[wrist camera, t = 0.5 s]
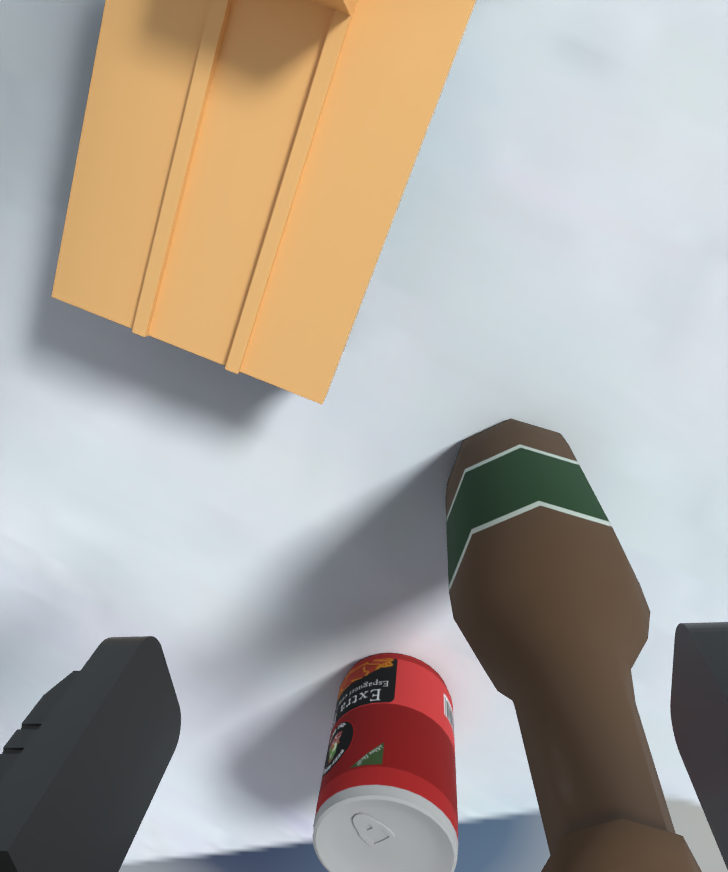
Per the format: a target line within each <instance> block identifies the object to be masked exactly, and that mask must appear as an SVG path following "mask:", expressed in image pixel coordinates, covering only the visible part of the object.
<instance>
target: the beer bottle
mask: <svg viewBox="0 0 728 872" xmlns="http://www.w3.org/2000/svg"><path fill="white" fill-rule="evenodd" d="M446 524H447V551H448V577H449V594H450V600H451V606H452V612H453V618H454V620H455V622H456V623H457V625H458V627H459V628H460V630H461V632H462V633H463V635H464V637H465V638H466V640H467V642H468V643H469V645H470V647H471V648H472V650H473V652H474V653H475V655H476V657H477V658H478V660H479V662H480V663H481V665H482V667H483V668H484V670H485V672H486V673H487V675H488V676H489V678H490V680H491V681H492V683H493V684H494V686H495V687H496V689H497V691H499V692H500V693H502V694H503V695H505V696H506V697H508V698H509V699H511V700H512V701H513V703H514V706H515V709H516V714H517V718H518V722H519V726H520V730H521V734H522V739H523V743H524V747H525V751H526V755H527V759H528V764H529V768H530V772H531V776H532V780H533V784H534V789H535V793H536V797H537V801H538V805H539V809H540V814H541V817H542V822H543V826H544V830H545V834H546V838H547V843H548V847H549V851H550V855H551V856H550V858H549V859H548V861H547V863H546V865H545V866H544V868H543V869H542V871H541V872H702V871H701V870H700V868H699V866H698V864H697V862H696V860H695V858H694V856H693V854H692V853H691V851H690V849H689V847H688V845H687V843H686V842H685V840H684V838H683V836H681V835H678V834H675V830H674V827H673V824H672V821H671V818H670V814H669V811H668V808H667V805H666V801H665V798H664V794H663V791H662V788H661V785H660V781H659V778H658V775H657V772H656V768H655V765H654V762H653V759H652V755H651V752H650V749H649V746H648V742H647V739H646V736H645V733H644V729H643V726H642V723H641V720H640V716H639V713H638V710H637V707H636V703H635V696H634V689H633V682H632V675H631V668H632V666H633V664H634V663H635V661H636V659H637V657H638V655H639V654H640V652H641V650H642V648H643V646H644V645H645V643H646V641H647V639H648V630H649V619H650V610H649V607H648V605H647V602H646V599H645V597H644V594H643V592H642V589H641V586H640V584H639V582H638V580H637V578H636V576H635V573H634V571H633V569H632V567H631V565H630V563H629V561H628V559H627V557H626V555H625V553H624V551H623V549H622V547H621V545H620V542H619V540H618V538H617V536H616V534H615V532H614V530H613V528H612V526H611V524H610V522H609V520H608V518H607V517H606V515H605V513H604V511H603V509H602V507H601V505H600V503H599V501H598V500H597V498H596V496H595V494H594V492H593V490H592V488H591V486H590V484H589V483H588V481H587V479H586V477H585V475H584V473H583V471H582V469H581V467H580V466H579V464H578V462H577V460H576V458H575V456H574V454H573V452H572V450H571V449H570V447H569V445H568V443H567V442H566V440H565V439H564V438H563V436H562V435H561V434H560V433H557V432H554V431H550V430H547V429H544V428H540V427H537V426H534V425H530V424H527V423H524V422H520V421H517V420H514V419H508V420H506V421H504V422H502V423H500V424H498V425H496V426H493V427H491V428H489V429H487V430H485V431H483V432H481V433H478V434H476V435H474V436H472V437H470V438H468V439H466V440H463V442H462V445H461V447H460V450H459V453H458V456H457V458H456V461H455V464H454V466H453V469H452V472H451V475H450V477H449V480H448V483H447V488H446Z"/></svg>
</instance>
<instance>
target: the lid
mask: <svg viewBox="0 0 728 872" xmlns="http://www.w3.org/2000/svg"><path fill="white" fill-rule="evenodd" d="M476 1H477V0H106V1H105V6H104V12H103V17H102V23H101V28H100V34H99V39H98V45H97V50H96V56H95V61H94V67H93V72H92V78H91V83H90V88H89V94H88V99H87V105H86V110H85V116H84V121H83V127H82V132H81V138H80V143H79V149H78V154H77V160H76V165H75V170H74V176H73V181H72V187H71V192H70V198H69V203H68V209H67V214H66V220H65V225H64V231H63V236H62V242H61V247H60V252H59V258H58V263H57V269H56V274H55V280H54V285H53V291H52V296H51V297H53V298H56V299H58V300H61V301H63V302H66V303H68V304H71V305H73V306H76V307H78V308H81V309H83V310H86V311H89V312H91V313H94V314H96V315H99V316H101V317H104V318H106V319H109V320H111V321H114V322H116V323H119V324H121V325H124V326H126V327H129V328H131V329H133V330H132V332H133V333H135V334H138V335H140V336H143V337H146V336H148V335H149V336H151V337H154V338H156V339H159V340H161V341H164V342H166V343H169V344H171V345H174V346H177V347H179V348H182V349H184V350H187V351H189V352H192V353H194V354H197V355H199V356H202V357H204V358H207V359H209V360H212V361H214V362H217V363H219V364H222V365H224V366H226V367H225V369H226V370H228V371H231V372H233V373H236V374H238V373H239V372H242V373H244V374H247V375H249V376H252V377H254V378H257V379H259V380H262V381H264V382H267V383H270V384H272V385H275V386H277V387H280V388H282V389H285V390H287V391H290V392H292V393H295V394H297V395H300V396H302V397H305V398H307V399H310V400H312V401H315V402H317V403H320V404H323V402H324V400H325V398H326V396H327V393H328V391H329V388H330V385H331V383H332V380H333V377H334V375H335V372H336V370H337V367H338V364H339V362H340V359H341V356H342V354H343V351H344V348H345V346H346V343H347V341H348V338H349V335H350V333H351V330H352V327H353V325H354V322H355V319H356V317H357V314H358V312H359V309H360V306H361V304H362V301H363V298H364V296H365V293H366V291H367V288H368V285H369V283H370V280H371V277H372V275H373V272H374V269H375V267H376V264H377V262H378V259H379V256H380V254H381V251H382V248H383V246H384V243H385V240H386V238H387V235H388V233H389V230H390V227H391V225H392V222H393V219H394V217H395V214H396V211H397V209H398V206H399V204H400V201H401V198H402V196H403V193H404V190H405V188H406V185H407V183H408V180H409V177H410V175H411V172H412V169H413V167H414V164H415V161H416V159H417V156H418V154H419V151H420V148H421V146H422V143H423V140H424V138H425V135H426V132H427V130H428V127H429V125H430V122H431V119H432V117H433V114H434V111H435V109H436V106H437V103H438V101H439V98H440V96H441V93H442V90H443V88H444V85H445V82H446V80H447V77H448V74H449V72H450V69H451V67H452V64H453V61H454V59H455V56H456V53H457V51H458V48H459V46H460V43H461V40H462V38H463V35H464V32H465V30H466V27H467V24H468V22H469V19H470V17H471V14H472V11H473V9H474V6H475V3H476Z"/></svg>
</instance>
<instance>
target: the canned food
mask: <svg viewBox="0 0 728 872" xmlns="http://www.w3.org/2000/svg"><path fill="white" fill-rule="evenodd" d="M313 826H314V832H313V845H314V848H315V851H316V854H317V856H318V858H319V860H320V861H321V863H322V865H324V867H325V868H326V869H327V870H328V871H329V872H454V869H455V866H456V863H457V853H458V814H457V791H456V768H455V745H454V721H453V705H452V700H451V696H450V694H449V692H448V690H447V687H446V685H445V683H444V681H443V680H442V678H441V677H440V676H439V674H438V673H437V672H436V671H435V670H434V669H432V668H431V667H430V666H429V665H427V664H426V663H424V662H422V661H421V660H418V659H416V658H413V657H411V656H407V655H403V654H395V653H384V654H377V655H373V656H369V657H367V658H365V659H363V660H361V661H360V662H358V663H357V664H356V665H354V666H353V668H352V669H351V670H350V671H349V672H348V674H347V675H346V677H345V678H344V680H343V682H342V684H341V686H340V690H339V695H338V700H337V705H336V710H335V715H334V720H333V725H332V731H331V736H330V741H329V746H328V751H327V756H326V761H325V766H324V772H323V777H322V782H321V787H320V792H319V797H318V802H317V808H316V815H315V820H314V825H313Z"/></svg>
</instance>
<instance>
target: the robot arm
mask: <svg viewBox="0 0 728 872" xmlns="http://www.w3.org/2000/svg"><path fill="white" fill-rule="evenodd" d="M670 708H671V720H672V726H673V732H674V736H675V740H676V744H677V747H678V750H679V752H680V755H681V757H682V760H683V762H684V765H685V767H686V770H687V772H688V774H689V777H690V779H691V782H692V784H693V787H694V789H695V791H696V794H697V796H698V799H699V801H700V804H701V806H702V808H703V811H704V813H705V816H706V818H707V821H708V823H709V825H710V828H711V830H712V833H713V835H714V837H715V840H716V842H717V845H718V847H719V850H720V852H721V855H722V857H723V860H724V862H725V864H726V867H727V869H728V622H713V623H680V624H679V625H678V626H677V628H676V632H675V643H674V658H673V673H672V687H671V704H670ZM180 727H181V713H180V707H179V703H178V700H177V696H176V693H175V690H174V687H173V683H172V680H171V677H170V673H169V670H168V667H167V664H166V660H165V657H164V654H163V650H162V647H161V645H160V643H159V641H158V640H157V639H156V638H155V637H152V636H145V637H111V638H107V639H105V640H104V641H103V642H102V643H101V644H100V645H99V646H98V648H97V649H96V650H95V652H94V653H93V655H92V656H91V657H90V659H89V660H88V661H87V663H86V664H85V666H84V667H83V668H82V670H81V671H73V672H72V673H71V674H69V675H68V676H67V677H66V678H64V679H63V680H62V681H61V682H59V683H58V684H57V685H56V686H54V687H53V688H52V689H51V690H50V691H48V692H47V693H46V694H45V695H43V697H42V698H41V699H40V701H39V702H38V703H37V704H36V706H35V707H34V708H33V710H32V711H31V712H30V714H29V715H28V716H27V718H26V719H25V720H24V721H23V723H22V728H21V730H17V731H16V732H15V733H14V734H13V736H12V737H11V738H10V740H9V741H8V742H7V744H6V745H5V746H4V748H3V749H4V750H3V753H2V754H0V872H118V871H119V869H120V867H121V865H122V863H123V861H124V859H125V856H126V854H127V852H128V850H129V848H130V846H131V844H132V841H133V839H134V837H135V835H136V833H137V831H138V828H139V826H140V824H141V822H142V820H143V818H144V816H145V813H146V811H147V809H148V807H149V805H150V803H151V800H152V798H153V796H154V794H155V792H156V790H157V788H158V785H159V783H160V781H161V779H162V777H163V775H164V773H165V770H166V768H167V766H168V764H169V762H170V760H171V757H172V755H173V753H174V751H175V749H176V746H177V743H178V739H179V734H180Z"/></svg>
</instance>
